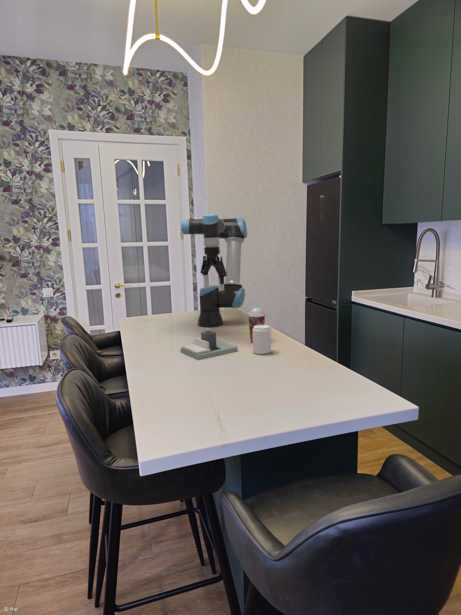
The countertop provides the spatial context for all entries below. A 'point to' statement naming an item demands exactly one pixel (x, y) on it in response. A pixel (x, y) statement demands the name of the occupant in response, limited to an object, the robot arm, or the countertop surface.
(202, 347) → the panel
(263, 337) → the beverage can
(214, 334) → the plug
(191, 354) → the socket plate
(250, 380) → the countertop surface
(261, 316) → the smoothie
